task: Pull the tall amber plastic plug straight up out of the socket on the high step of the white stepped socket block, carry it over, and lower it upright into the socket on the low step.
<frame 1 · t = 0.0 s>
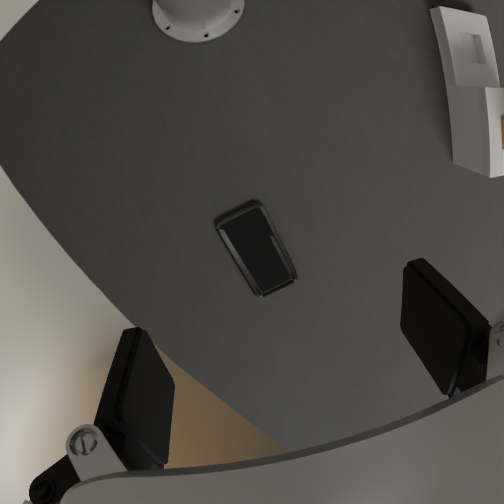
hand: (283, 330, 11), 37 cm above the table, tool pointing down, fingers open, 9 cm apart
phone: (258, 250, 51), on the table
white stepped socket block: (469, 85, 40), on the table
plug: (503, 129, 36), point 8 cm above the table, touching white stepped socket block
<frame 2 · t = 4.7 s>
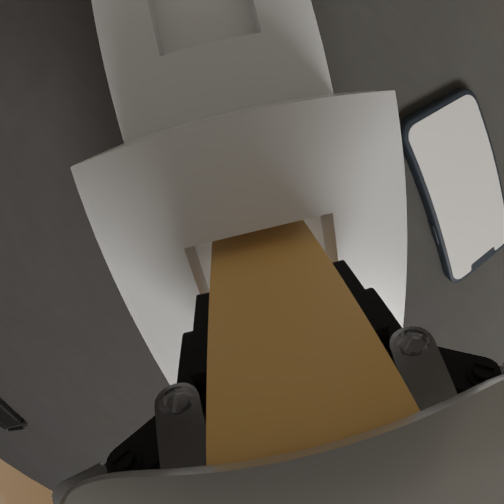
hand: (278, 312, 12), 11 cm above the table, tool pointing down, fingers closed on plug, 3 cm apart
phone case: (457, 187, 23), on the table
white stepped socket block: (227, 112, 19), on the table
plug: (266, 269, 15), point 8 cm above the table, touching white stepped socket block, gripper
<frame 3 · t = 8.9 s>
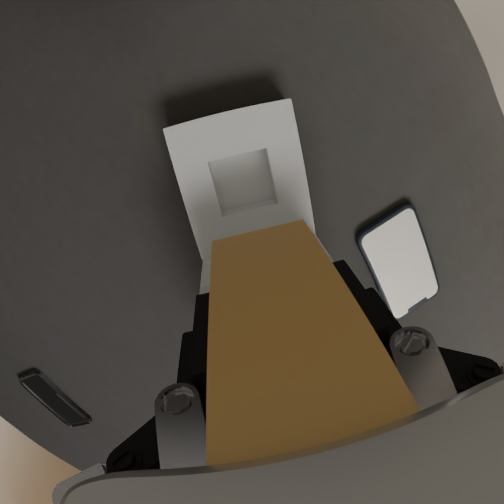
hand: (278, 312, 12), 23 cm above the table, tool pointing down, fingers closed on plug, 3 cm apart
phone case: (398, 262, 40), on the table
phone: (56, 397, 46), on the table
white stepped socket block: (256, 236, 36), on the table
plug: (266, 269, 15), point 20 cm above the table, touching gripper
when the fingers open (5 cm above the table, at t = 13.6 s): plug stays where it is, resting on white stepped socket block.
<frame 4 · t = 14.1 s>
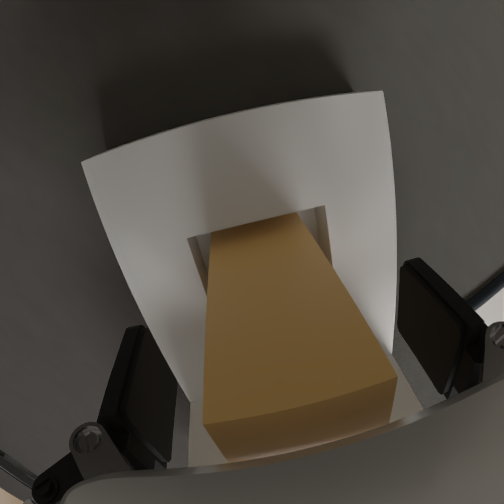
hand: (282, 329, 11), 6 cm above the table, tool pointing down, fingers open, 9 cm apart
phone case: (475, 346, 23), on the table
phone: (29, 474, 30), on the table
white stepped socket block: (284, 348, 19), on the table
plug: (262, 260, 15), point 1 cm above the table, touching white stepped socket block
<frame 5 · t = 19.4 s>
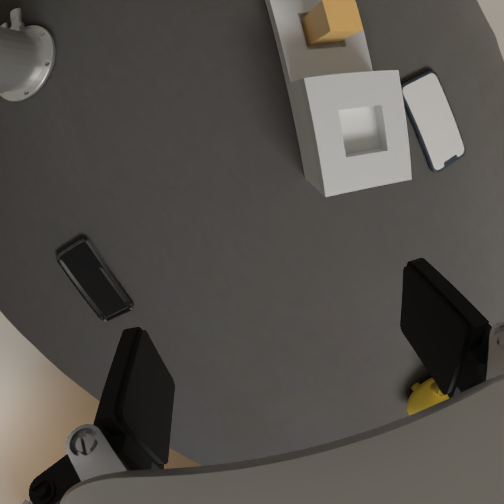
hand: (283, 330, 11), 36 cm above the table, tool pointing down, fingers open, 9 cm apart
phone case: (430, 120, 43), on the table
phone: (96, 279, 50), on the table
white stepped socket block: (326, 78, 39), on the table
plug: (317, 32, 35), point 1 cm above the table, touching white stepped socket block
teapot: (425, 382, 71), on the table
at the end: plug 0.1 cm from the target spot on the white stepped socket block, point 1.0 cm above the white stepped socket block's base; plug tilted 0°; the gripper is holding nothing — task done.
